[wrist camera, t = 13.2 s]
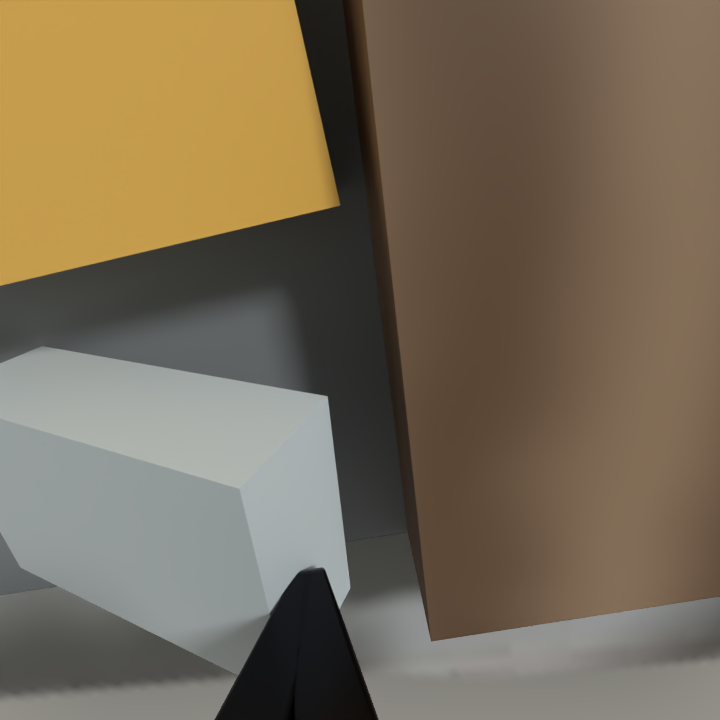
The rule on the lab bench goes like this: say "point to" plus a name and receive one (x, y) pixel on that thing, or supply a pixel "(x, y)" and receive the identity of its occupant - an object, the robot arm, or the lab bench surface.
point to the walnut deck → (548, 297)
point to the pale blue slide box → (168, 494)
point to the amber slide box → (151, 127)
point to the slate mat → (251, 309)
